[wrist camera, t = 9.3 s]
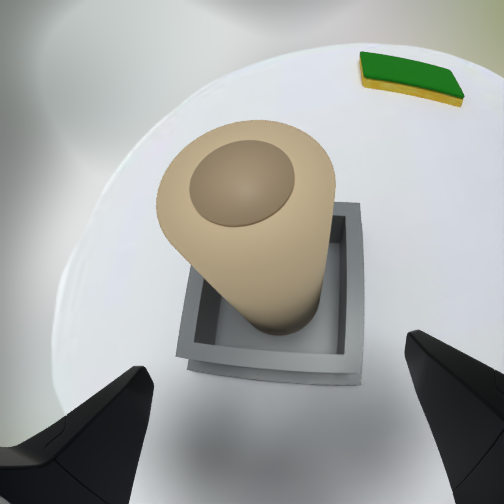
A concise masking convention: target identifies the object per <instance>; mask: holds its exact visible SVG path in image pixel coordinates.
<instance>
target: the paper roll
mask: <svg viewBox="0 0 504 504" xmlns="http://www.w3.org/2000/svg"><path fill="white" fill-rule="evenodd" d="M335 188H336V181H335V173H334V169H333V165H332V163H331V161H330V158H329V156H328V155H327V153H326V152H325V150H324V149H323V148H322V147H321V145H320V144H319V143H318V142H317V141H316V140H314V139H313V138H312V137H311V136H309V135H308V134H306V133H305V132H303V131H301V130H299V129H297V128H295V127H293V126H290V125H287V124H284V123H279V122H275V121H267V120H250V121H241V122H235V123H231V124H228V125H224V126H221V127H219V128H216V129H214V130H211V131H209V132H207V133H205V134H204V135H202V136H200V137H198V138H197V139H196V140H194V141H193V142H191V143H190V144H189V145H188V146H186V147H185V148H184V149H183V150H182V151H181V152H180V153H179V154H178V155H177V156H176V157H175V158H174V160H173V161H172V162H171V164H170V165H169V167H168V168H167V170H166V172H165V173H164V175H163V178H162V180H161V182H160V186H159V189H158V193H157V199H156V210H157V218H158V221H159V224H160V227H161V229H162V231H163V233H164V235H165V237H166V238H167V239H168V241H169V242H170V243H171V245H172V246H173V247H174V248H175V249H176V250H177V251H178V252H179V253H180V254H181V255H182V256H183V257H184V258H185V259H186V260H187V261H188V262H189V263H190V264H191V265H192V266H193V267H194V268H195V269H196V270H197V271H198V272H199V273H200V274H201V275H202V276H203V277H204V279H205V280H206V281H207V282H208V283H209V284H210V285H211V286H212V287H213V288H214V289H215V290H216V291H217V292H218V293H220V294H221V295H222V296H223V297H224V298H225V299H226V300H227V301H228V302H229V303H230V304H231V305H232V306H233V307H234V308H235V309H236V310H237V311H238V312H239V313H240V314H241V315H242V316H243V317H244V318H245V319H246V320H247V321H248V322H249V323H250V324H252V325H253V326H254V327H255V328H256V329H258V330H259V331H261V332H263V333H266V334H269V335H275V336H283V335H289V334H292V333H295V332H297V331H299V330H301V329H302V328H304V327H305V326H306V325H307V324H309V322H310V321H311V320H312V319H313V317H314V316H315V314H316V312H317V310H318V306H319V302H320V296H321V290H322V285H323V278H324V272H325V266H326V259H327V253H328V246H329V239H330V231H331V223H332V215H333V207H334V198H335Z"/></svg>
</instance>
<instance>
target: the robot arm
mask: <svg viewBox="0 0 504 504" xmlns="http://www.w3.org/2000/svg"><path fill="white" fill-rule="evenodd" d="M405 358H406V361H407V365H408V368H409V371H410V374H411V378H412V381H413V384H414V388H415V391H416V394H417V396H418V399H419V401H420V404H421V406H422V409H423V411H424V413H425V416H426V418H427V421H428V423H429V426H430V428H431V431H432V434H433V436H434V439H435V442H436V444H437V447H438V450H439V453H440V455H441V458H442V461H443V464H444V467H445V470H446V473H447V476H448V479H449V482H450V486H451V489H452V492H453V496H454V499H455V503H456V504H504V374H503V373H501V372H499V371H497V370H495V371H494V369H493V368H491V367H489V366H487V365H485V364H484V363H482V362H480V361H478V360H476V359H474V358H472V357H470V356H468V355H467V354H465V353H463V352H461V351H459V350H457V349H455V348H453V347H451V346H450V345H448V344H446V343H444V342H442V341H440V340H438V339H436V338H434V337H432V336H430V335H429V334H427V333H425V332H423V331H421V330H414V331H411V332H408V334H407V337H406V345H405ZM153 391H154V383H153V381H152V379H151V377H150V375H149V373H148V371H147V369H146V368H145V367H144V366H133V367H132V368H130V369H129V370H127V371H126V372H125V373H123V374H122V375H121V376H119V377H118V378H117V379H115V380H114V381H113V382H111V383H110V384H108V385H107V386H106V387H104V388H103V389H102V390H100V391H99V392H98V393H96V394H95V395H93V396H92V397H91V398H89V399H88V400H86V401H85V402H84V403H82V404H81V405H80V406H78V407H77V408H75V409H74V410H73V411H71V412H70V413H68V414H67V416H64V417H63V418H61V419H60V420H59V421H57V422H56V423H54V424H53V425H51V426H50V427H48V428H46V429H45V430H43V431H41V432H40V433H38V434H36V435H35V436H33V437H31V438H30V439H28V440H26V441H24V442H23V443H21V444H19V445H17V446H13V447H0V504H129V500H130V496H131V491H132V487H133V482H134V478H135V474H136V470H137V466H138V461H139V457H140V453H141V449H142V446H143V442H144V438H145V434H146V430H147V426H148V422H149V417H150V410H151V403H152V397H153Z"/></svg>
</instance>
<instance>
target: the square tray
mask: <svg viewBox="0 0 504 504" xmlns="http://www.w3.org/2000/svg"><path fill="white" fill-rule="evenodd" d="M363 340H364V255H363V235H362V223H361V211H360V203H350V202H334V207H333V215H332V223H331V231H330V239H329V246H328V253H327V259H326V266H325V272H324V278H323V285H322V290H321V296H320V302H319V306H318V310H317V312H316V314H315V316H314V317H313V319H312V320H311V321H310V322H309V324H307V325H306V326H305V327H304V328H302V329H301V330H299V331H297V332H295V333H292V334H289V335H283V336H275V335H269V334H266V333H263V332H261V331H259V330H258V329H256V328H255V327H254V326H253V325H252V324H250V323H249V322H248V321H247V320H246V319H245V318H244V317H243V316H242V315H241V314H240V313H239V312H238V311H237V310H236V309H235V308H234V307H233V306H232V305H231V304H230V303H229V302H228V301H227V300H226V299H225V298H224V297H223V296H222V295H221V294H220V293H218V292H217V291H216V290H215V289H214V288H213V287H212V286H211V285H210V284H209V283H208V282H207V281H206V280H205V279H204V277H203V276H202V275H201V274H200V273H199V272H198V271H197V270H196V269H195V268H194V267H193V266H192V265H191V267H190V273H189V278H188V284H187V289H186V295H185V300H184V306H183V312H182V318H181V324H180V330H179V337H178V343H177V350H176V357H181V358H186V359H189V360H188V367H187V370H192V371H197V372H203V373H210V374H216V375H223V376H230V377H238V378H246V379H255V380H264V381H275V382H287V383H303V384H325V385H361V374H362V359H363Z"/></svg>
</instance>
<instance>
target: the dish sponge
mask: <svg viewBox="0 0 504 504" xmlns="http://www.w3.org/2000/svg"><path fill="white" fill-rule="evenodd" d="M360 70H361V77H362V84H363V86H364V87H365V88H372V89H379V90H385V91H391V92H397V93H402V94H407V95H412V96H417V97H421V98H426V99H430V100H434V101H438V102H442V103H446V104H450V105H453V106H457V107H461V104H462V102H463V98H464V94H463V92H462V90H461V88H460V86H459V84H458V82H457V81H456V79H455V77H454V75H453V73H452V72H451V71H450V70H449V69H446V68H442V67H438V66H435V65H431V64H427V63H423V62H418V61H414V60H409V59H405V58H400V57H394V56H389V55H383V54H376V53H369V52H360Z"/></svg>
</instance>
